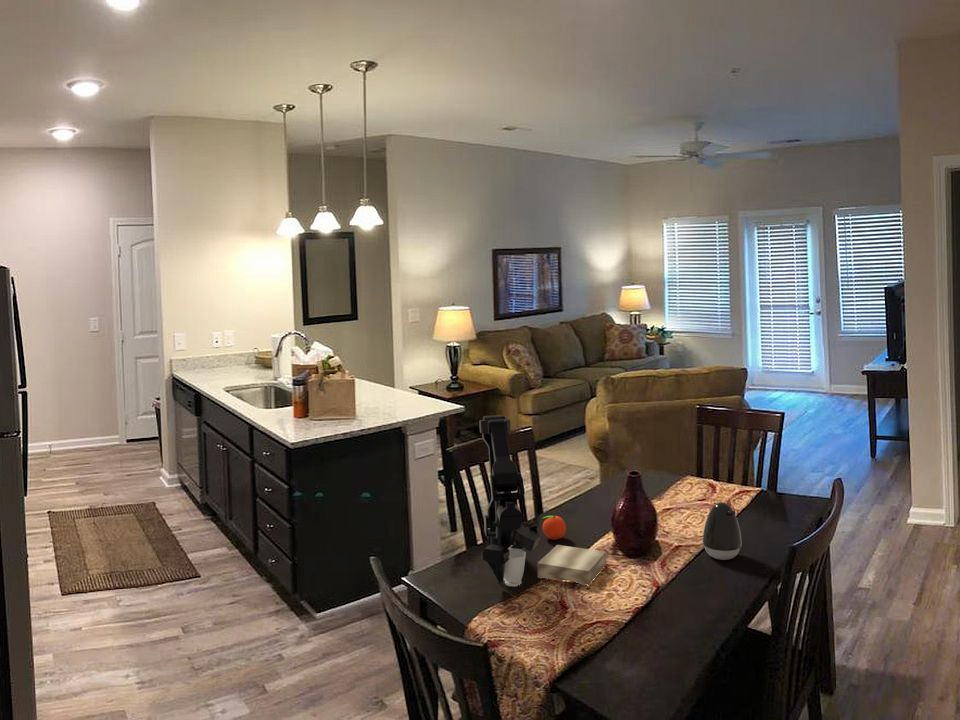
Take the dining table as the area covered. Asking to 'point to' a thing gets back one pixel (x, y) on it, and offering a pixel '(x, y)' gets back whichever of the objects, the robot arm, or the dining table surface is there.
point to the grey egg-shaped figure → (722, 532)
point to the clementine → (554, 527)
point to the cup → (514, 567)
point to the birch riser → (571, 564)
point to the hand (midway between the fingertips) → (508, 575)
